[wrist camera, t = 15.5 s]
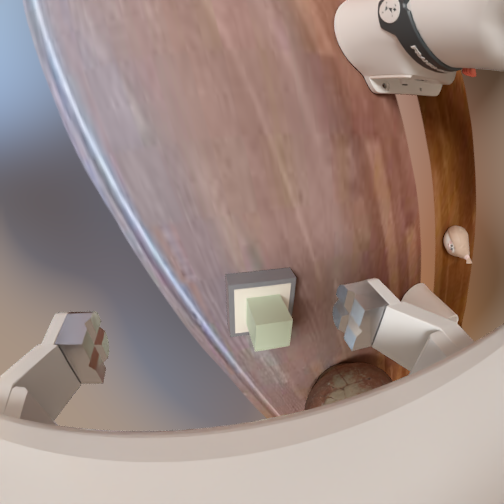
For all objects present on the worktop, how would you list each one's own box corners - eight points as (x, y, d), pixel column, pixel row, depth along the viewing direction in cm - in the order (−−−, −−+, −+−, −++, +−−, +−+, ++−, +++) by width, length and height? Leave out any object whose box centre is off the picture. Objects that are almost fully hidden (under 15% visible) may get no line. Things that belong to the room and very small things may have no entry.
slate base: (289, 267, 44) (296, 278, 41) (284, 317, 49) (290, 328, 46) (225, 274, 42) (228, 286, 39) (227, 324, 47) (230, 337, 44)
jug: (361, 387, 69) (409, 470, 43) (289, 409, 65) (328, 507, 39) (381, 333, 58) (453, 431, 33) (294, 358, 55) (353, 487, 29)
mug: (389, 327, 58) (417, 362, 48) (386, 303, 54) (418, 340, 44) (426, 301, 58) (456, 331, 48) (426, 276, 54) (461, 306, 43)
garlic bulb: (434, 248, 51) (459, 266, 44) (444, 220, 48) (471, 236, 41) (450, 249, 52) (474, 266, 45) (459, 223, 49) (485, 238, 42)
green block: (279, 294, 42) (292, 319, 37) (277, 319, 44) (289, 345, 39) (246, 298, 41) (255, 325, 36) (246, 323, 43) (255, 351, 38)
